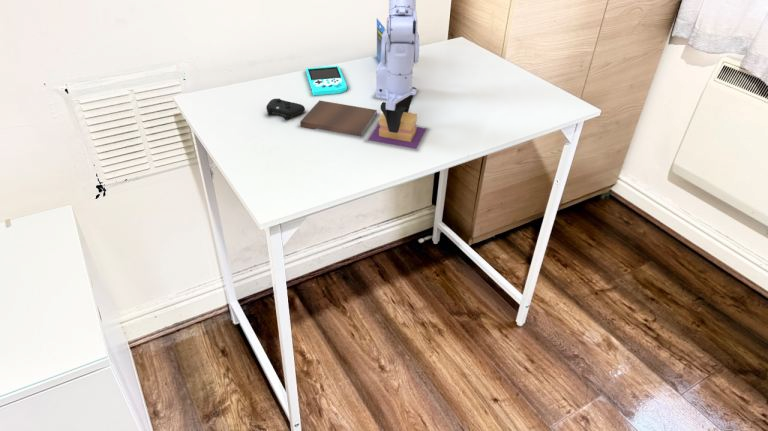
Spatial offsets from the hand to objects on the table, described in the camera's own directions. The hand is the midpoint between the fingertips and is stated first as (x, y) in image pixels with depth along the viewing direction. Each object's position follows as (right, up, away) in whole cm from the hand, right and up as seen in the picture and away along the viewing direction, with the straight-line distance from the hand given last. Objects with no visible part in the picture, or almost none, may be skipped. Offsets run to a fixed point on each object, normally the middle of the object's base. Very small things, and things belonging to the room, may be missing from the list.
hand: (398, 124), depth 126 cm
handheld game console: (-20, +16, +25) cm, 36 cm away
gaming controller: (-29, +4, +10) cm, 31 cm away
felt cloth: (0, -2, +2) cm, 3 cm away
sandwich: (0, -2, +2) cm, 3 cm away
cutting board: (-15, +2, +7) cm, 16 cm away
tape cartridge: (-3, +25, +36) cm, 44 cm away
